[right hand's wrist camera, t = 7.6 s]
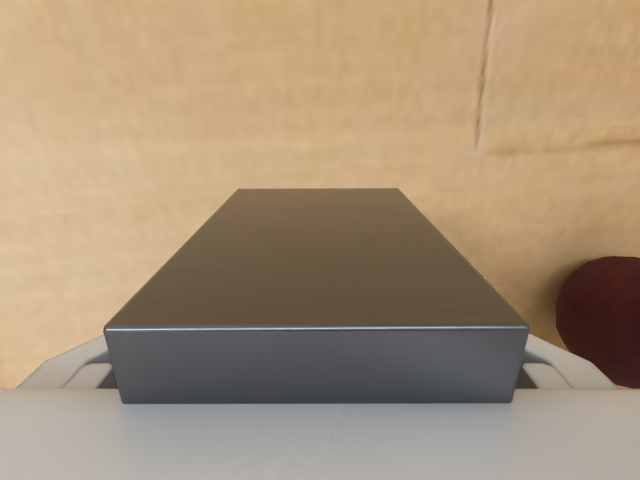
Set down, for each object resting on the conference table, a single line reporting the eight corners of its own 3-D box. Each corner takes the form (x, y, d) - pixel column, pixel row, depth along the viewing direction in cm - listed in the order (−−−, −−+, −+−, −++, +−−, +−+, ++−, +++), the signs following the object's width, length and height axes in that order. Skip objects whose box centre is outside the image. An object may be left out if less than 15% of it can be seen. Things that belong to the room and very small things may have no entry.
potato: (552, 352, 26) (630, 434, 20) (515, 272, 24) (590, 334, 17) (654, 307, 25) (774, 380, 18) (625, 217, 23) (751, 264, 16)
